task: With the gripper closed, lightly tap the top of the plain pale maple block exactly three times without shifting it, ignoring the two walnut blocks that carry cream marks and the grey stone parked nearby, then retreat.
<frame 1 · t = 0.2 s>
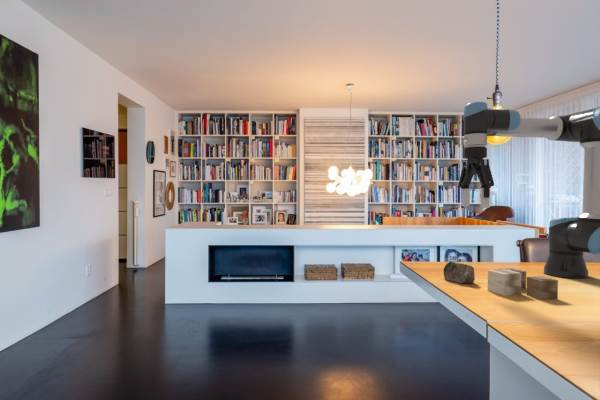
hand: (474, 207, 142), 28 cm above the table, fingers open, 13 cm apart
stone: (458, 282, 150), on the table
plain block: (504, 292, 133), on the table
marked block left: (541, 297, 127), on the table
marked block near: (512, 287, 141), on the table
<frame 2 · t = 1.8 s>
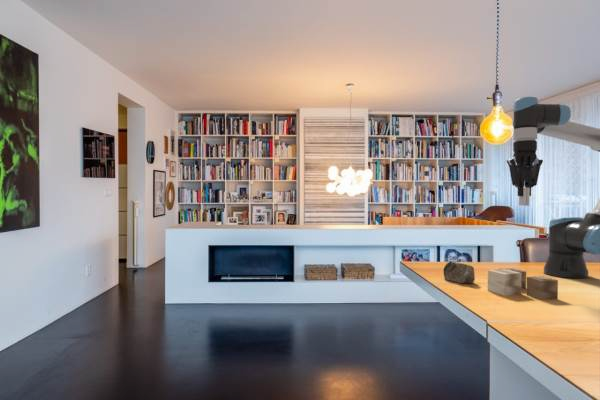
hand: (524, 205, 147), 28 cm above the table, fingers closed
nothing on the table moved.
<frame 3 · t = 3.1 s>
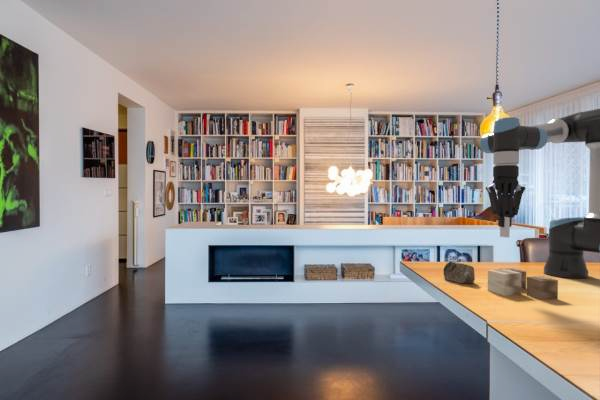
hand: (504, 236, 133), 18 cm above the table, fingers closed
nothing on the table moved.
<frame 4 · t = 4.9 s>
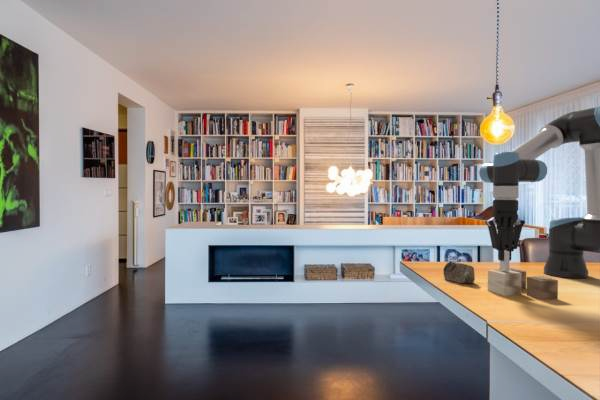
hand: (504, 270, 133), 7 cm above the table, fingers closed
nothing on the table moved.
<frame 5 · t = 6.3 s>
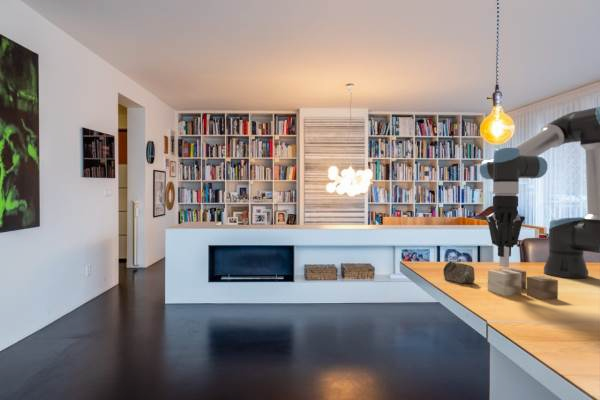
hand: (504, 266, 133), 9 cm above the table, fingers closed
nothing on the table moved.
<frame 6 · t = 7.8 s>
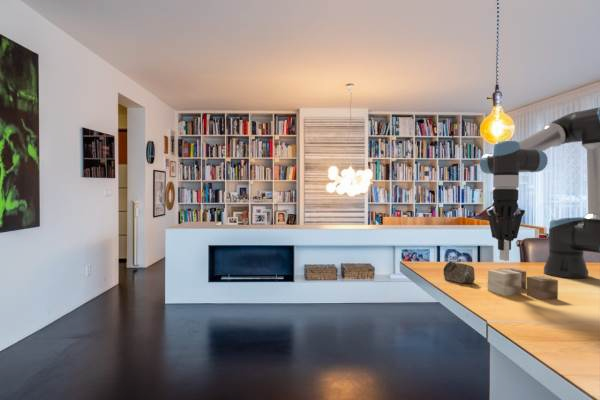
hand: (504, 260, 133), 11 cm above the table, fingers closed
nothing on the table moved.
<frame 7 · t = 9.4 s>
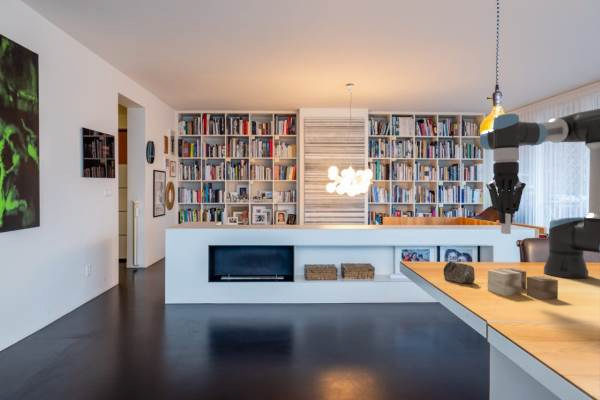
hand: (505, 233, 133), 19 cm above the table, fingers closed
nothing on the table moved.
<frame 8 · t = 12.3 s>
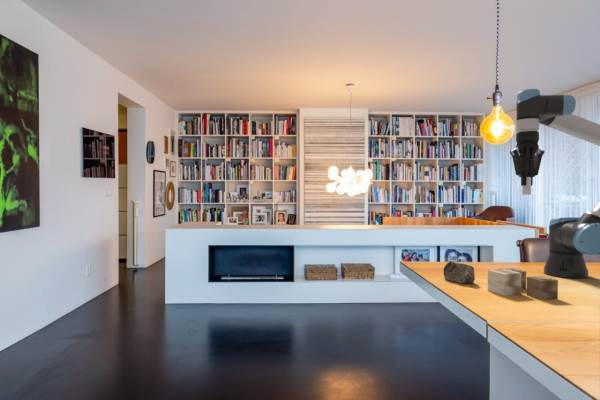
hand: (526, 194, 151), 32 cm above the table, fingers closed
nothing on the table moved.
at the end: plain block moved 0.1 cm from its start; plain block tilted 0°; marked block left moved 0.1 cm from its start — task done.
